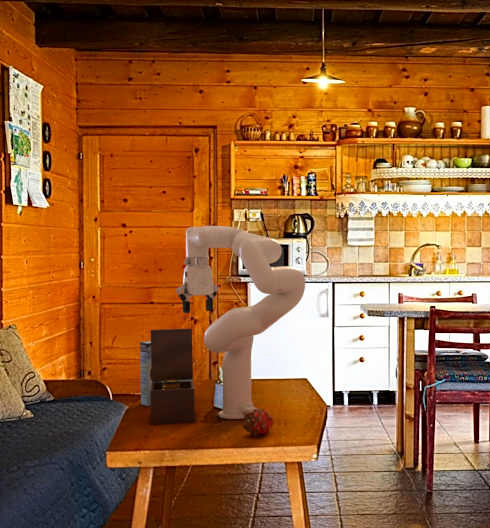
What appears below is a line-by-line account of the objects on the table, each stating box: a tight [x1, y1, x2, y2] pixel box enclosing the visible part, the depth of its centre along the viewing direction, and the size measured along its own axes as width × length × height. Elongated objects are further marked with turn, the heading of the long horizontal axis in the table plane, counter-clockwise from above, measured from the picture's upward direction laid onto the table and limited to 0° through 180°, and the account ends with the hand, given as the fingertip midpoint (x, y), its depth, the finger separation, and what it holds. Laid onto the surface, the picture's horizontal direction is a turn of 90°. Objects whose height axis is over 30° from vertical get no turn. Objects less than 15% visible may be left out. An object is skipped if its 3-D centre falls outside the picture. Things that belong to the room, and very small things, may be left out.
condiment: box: [162, 380, 180, 390], centre depth 278 cm, size 7×8×12 cm
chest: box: [150, 380, 196, 425], centre depth 281 cm, size 17×14×11 cm
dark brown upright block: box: [150, 328, 194, 381], centre depth 290 cm, size 18×14×5 cm
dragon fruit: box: [242, 408, 274, 437], centre depth 254 cm, size 8×8×12 cm
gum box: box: [139, 340, 194, 407], centre depth 310 cm, size 20×5×23 cm, turn 134°
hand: (198, 311), depth 293 cm, fingers open, 9 cm apart
